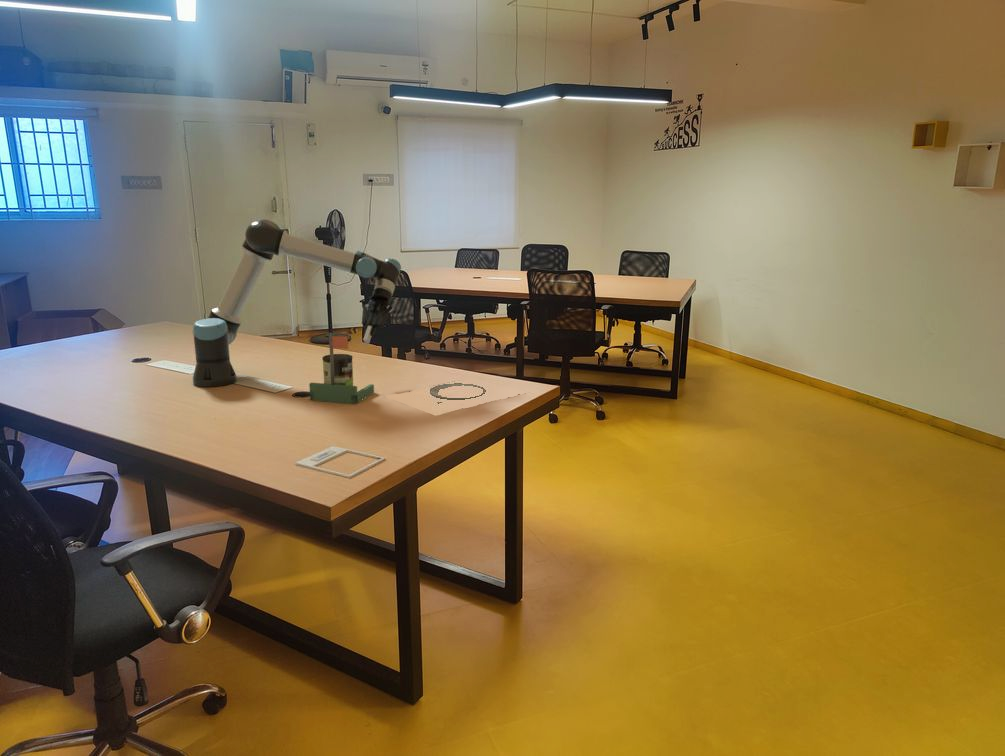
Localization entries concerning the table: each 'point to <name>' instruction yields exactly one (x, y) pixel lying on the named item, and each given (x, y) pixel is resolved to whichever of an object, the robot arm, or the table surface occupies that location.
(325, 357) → the coffee can
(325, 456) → the photo frame
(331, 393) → the green frame
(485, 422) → the table surface
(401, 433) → the table surface
